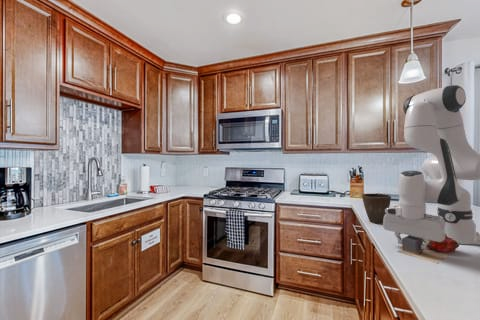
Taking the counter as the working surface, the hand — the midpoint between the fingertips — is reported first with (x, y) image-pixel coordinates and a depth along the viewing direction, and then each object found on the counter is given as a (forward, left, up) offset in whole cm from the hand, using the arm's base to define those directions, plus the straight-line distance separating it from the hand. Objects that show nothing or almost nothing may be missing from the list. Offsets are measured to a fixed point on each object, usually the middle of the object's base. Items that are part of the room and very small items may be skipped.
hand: (411, 246), depth 94 cm
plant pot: (-37, -31, -3) cm, 48 cm away
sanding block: (0, 0, -2) cm, 2 cm away
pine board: (0, +4, -3) cm, 5 cm away
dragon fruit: (-10, +6, -3) cm, 12 cm away
